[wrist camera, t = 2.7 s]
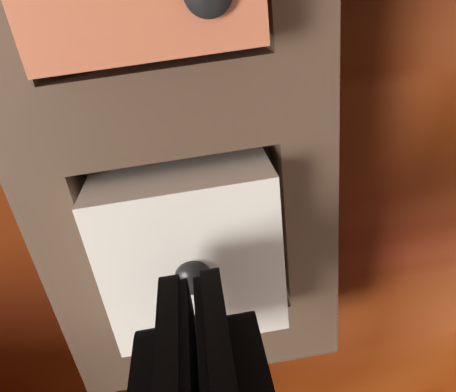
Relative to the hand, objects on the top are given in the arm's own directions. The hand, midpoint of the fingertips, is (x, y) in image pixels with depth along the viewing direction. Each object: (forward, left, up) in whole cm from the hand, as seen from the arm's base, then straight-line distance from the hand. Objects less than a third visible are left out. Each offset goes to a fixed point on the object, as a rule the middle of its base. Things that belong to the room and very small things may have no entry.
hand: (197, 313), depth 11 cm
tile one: (0, 0, -4) cm, 4 cm away
